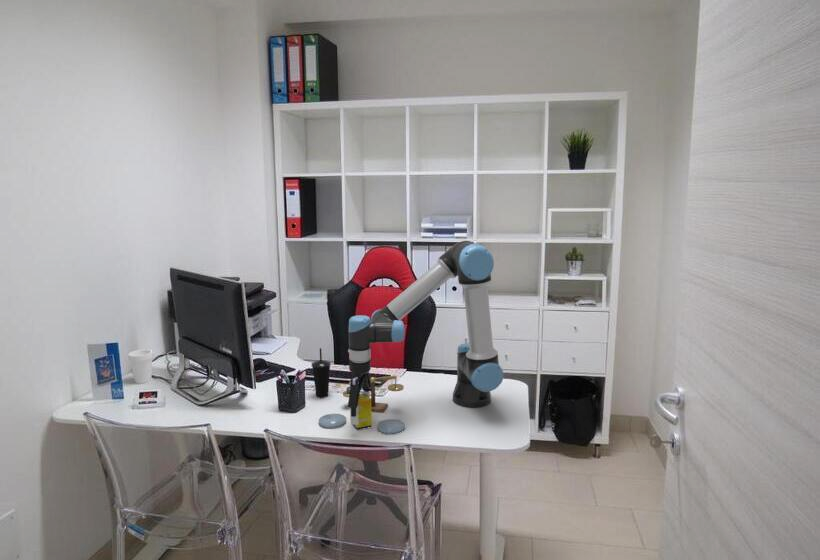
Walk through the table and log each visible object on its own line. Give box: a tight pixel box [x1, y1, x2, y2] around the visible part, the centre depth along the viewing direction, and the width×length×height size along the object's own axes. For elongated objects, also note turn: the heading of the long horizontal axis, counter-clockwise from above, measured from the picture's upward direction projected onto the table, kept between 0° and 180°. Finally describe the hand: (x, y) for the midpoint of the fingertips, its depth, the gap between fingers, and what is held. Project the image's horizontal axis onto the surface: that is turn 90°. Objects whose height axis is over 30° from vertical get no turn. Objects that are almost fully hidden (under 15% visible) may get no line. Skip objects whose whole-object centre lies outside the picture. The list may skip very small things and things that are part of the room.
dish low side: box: [318, 413, 347, 430], centre depth 211 cm, size 10×10×1 cm
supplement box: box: [352, 393, 373, 431], centre depth 207 cm, size 6×6×11 cm
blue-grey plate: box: [376, 418, 406, 435], centre depth 206 cm, size 10×10×1 cm
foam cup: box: [128, 349, 154, 385], centre depth 252 cm, size 10×9×13 cm
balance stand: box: [370, 382, 389, 414], centre depth 222 cm, size 10×6×11 cm, turn 77°
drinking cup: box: [311, 348, 331, 399], centre depth 234 cm, size 8×8×20 cm
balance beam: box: [342, 375, 405, 398], centre depth 221 cm, size 24×6×9 cm, turn 77°
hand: (360, 416), depth 208 cm, fingers open, 13 cm apart
